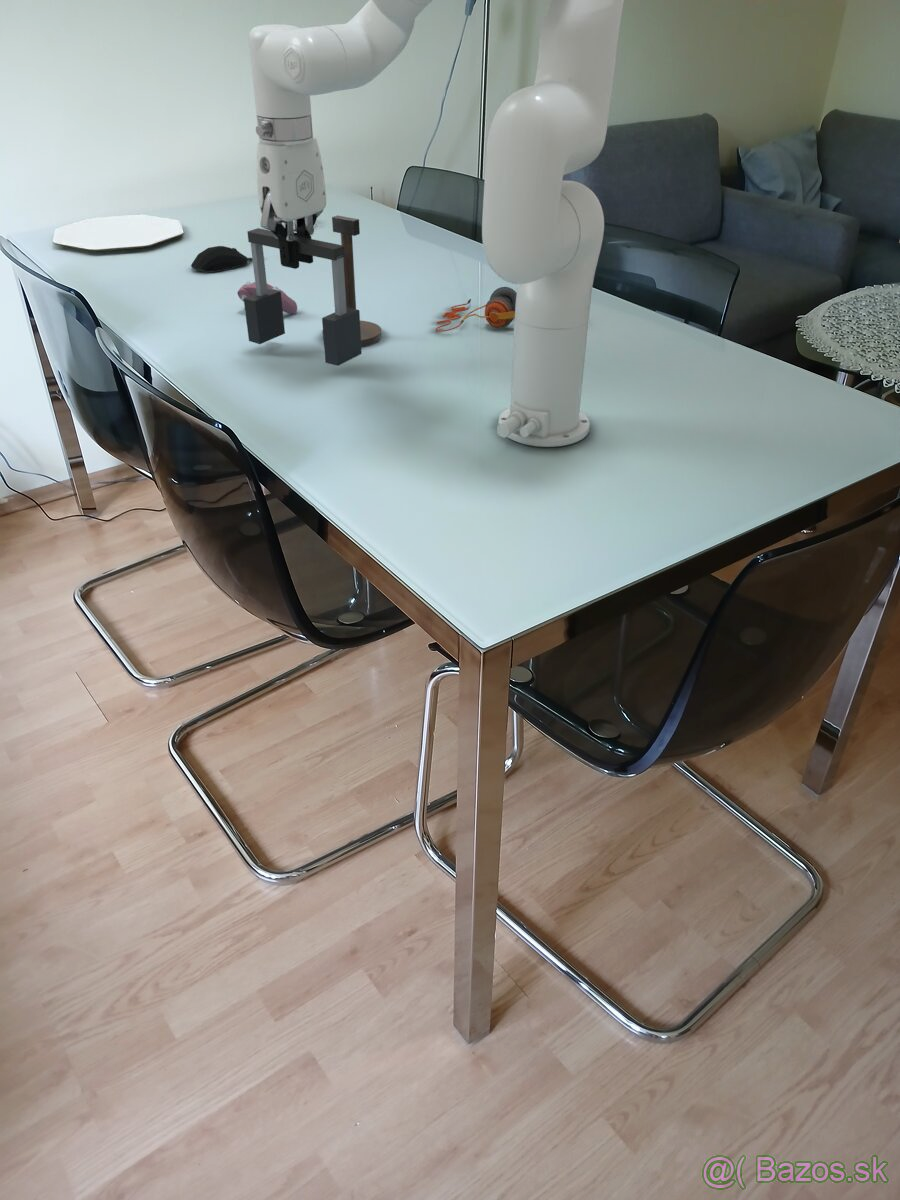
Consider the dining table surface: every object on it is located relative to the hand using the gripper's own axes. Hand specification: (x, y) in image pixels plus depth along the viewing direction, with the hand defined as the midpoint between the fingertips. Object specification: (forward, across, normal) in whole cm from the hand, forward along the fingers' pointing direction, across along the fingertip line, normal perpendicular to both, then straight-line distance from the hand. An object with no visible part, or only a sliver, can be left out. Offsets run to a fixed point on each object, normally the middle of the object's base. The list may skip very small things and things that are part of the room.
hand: (297, 263), depth 138 cm
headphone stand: (+15, +12, 0) cm, 19 cm away
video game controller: (+15, +13, +20) cm, 28 cm away
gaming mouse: (+15, +30, +47) cm, 58 cm away
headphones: (+15, +32, -16) cm, 39 cm away
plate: (+15, +32, +82) cm, 89 cm away
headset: (+13, 0, 0) cm, 13 cm away
